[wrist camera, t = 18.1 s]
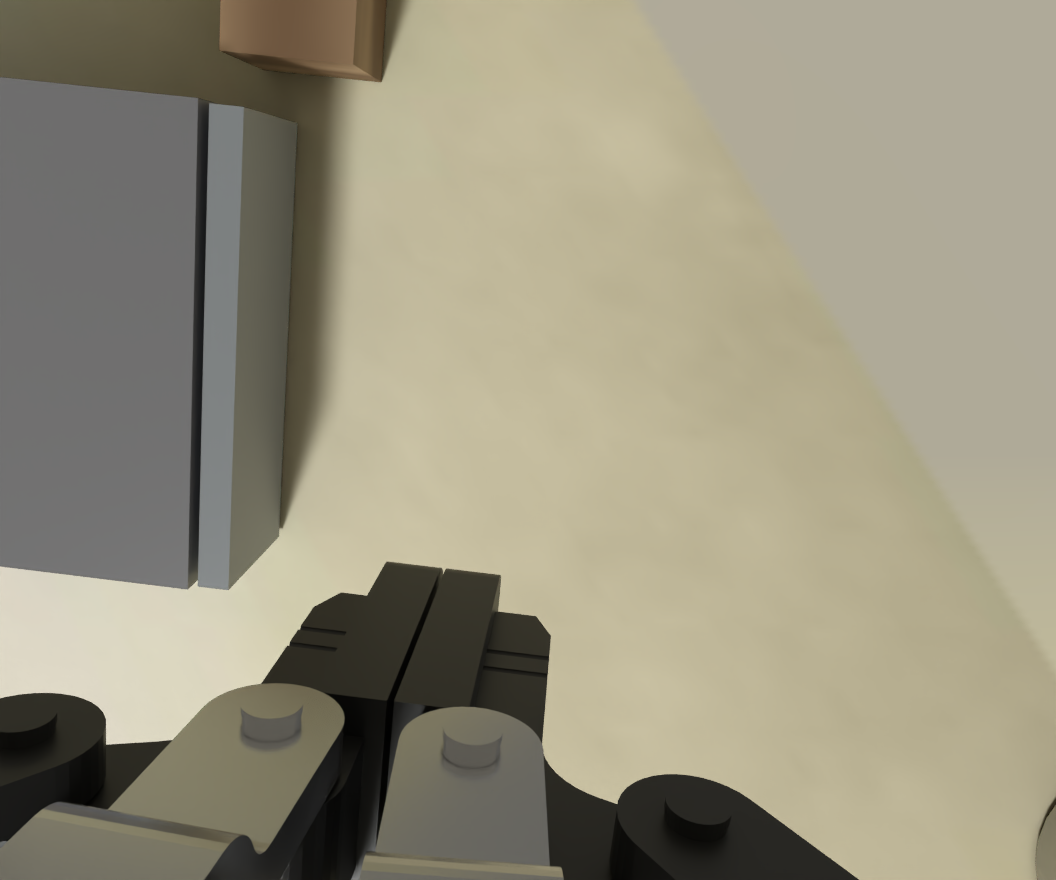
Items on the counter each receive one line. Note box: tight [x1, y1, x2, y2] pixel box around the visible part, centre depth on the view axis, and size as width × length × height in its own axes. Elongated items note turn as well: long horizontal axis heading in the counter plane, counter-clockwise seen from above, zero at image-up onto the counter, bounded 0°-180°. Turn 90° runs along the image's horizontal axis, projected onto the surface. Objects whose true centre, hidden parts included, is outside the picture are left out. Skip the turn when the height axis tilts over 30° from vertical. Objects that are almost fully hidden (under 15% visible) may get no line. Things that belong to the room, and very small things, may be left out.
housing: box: [0, 77, 217, 589], centre depth 32 cm, size 14×15×6 cm
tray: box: [198, 103, 297, 590], centre depth 32 cm, size 14×15×5 cm
